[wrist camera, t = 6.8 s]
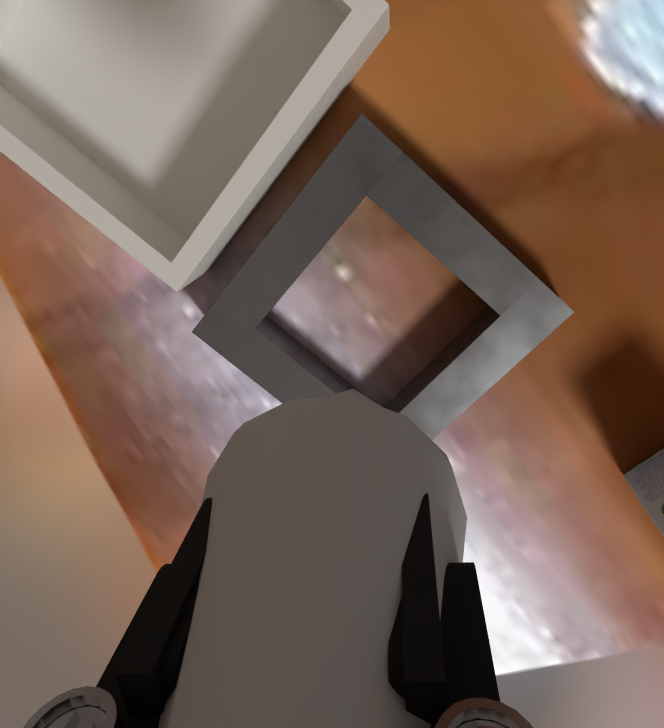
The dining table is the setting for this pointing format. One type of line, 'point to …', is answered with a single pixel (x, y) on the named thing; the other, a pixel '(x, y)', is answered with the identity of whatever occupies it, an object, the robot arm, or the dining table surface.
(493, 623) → the dining table surface
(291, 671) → the salt shaker
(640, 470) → the medicine box
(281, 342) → the collar block
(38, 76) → the bin
